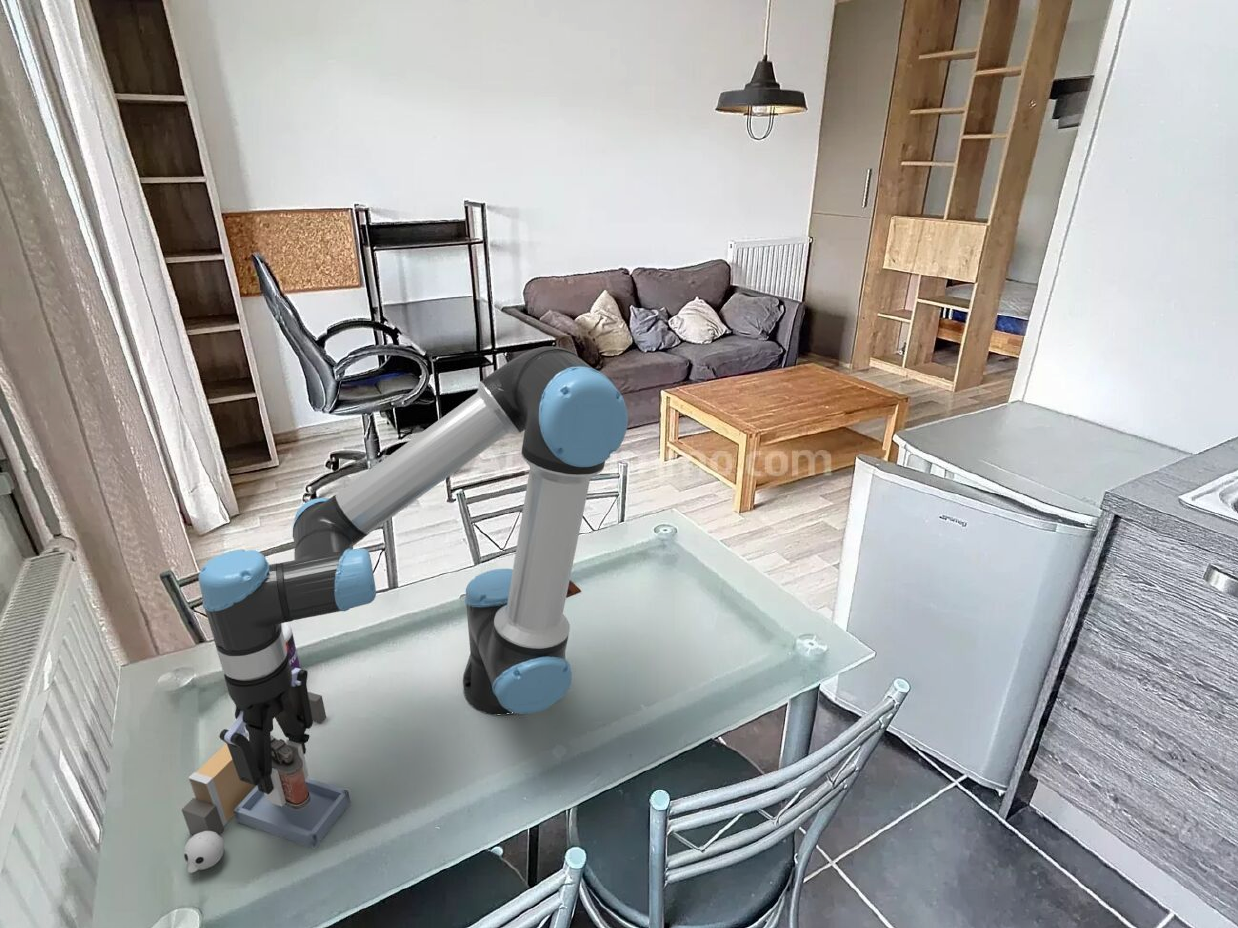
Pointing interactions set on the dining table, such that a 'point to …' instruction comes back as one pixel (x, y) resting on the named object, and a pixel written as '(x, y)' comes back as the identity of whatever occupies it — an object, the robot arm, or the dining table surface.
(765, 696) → the dining table surface
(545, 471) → the robot arm
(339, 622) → the dining table surface
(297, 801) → the lighter
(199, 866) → the figurine
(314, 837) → the tray
